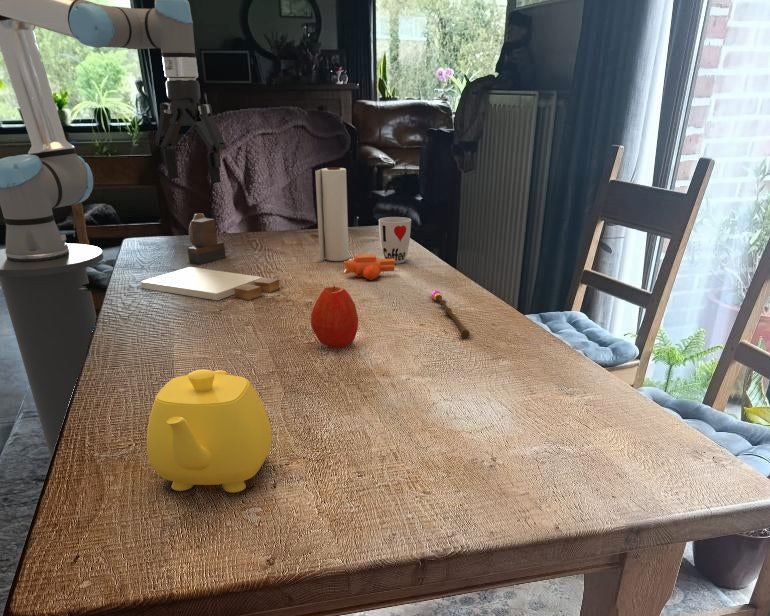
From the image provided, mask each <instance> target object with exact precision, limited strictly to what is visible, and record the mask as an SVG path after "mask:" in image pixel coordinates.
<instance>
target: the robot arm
mask: <svg viewBox="0 0 770 616" xmlns="http://www.w3.org/2000/svg"><path fill="white" fill-rule="evenodd" d="M190 5H191V4H190V2H189V0H154V7H151V8H133V7H124V6H113V5H105V4H100V3H96V2H92V1H90V0H0V51H1V54H2V58H3V60H4V64H5V66H6V69H7V73H8V76H9V79H10V82H11V86H12V88H13V92H14V94H15V97H16V101H17V104H18V107H19V110H20V113H21V116H22V119H23V122H24V126H25V129H26V131H27V134H28V138H29V140H30V144H31V146H30V149H29V150H28V152H27V154H18V155H14V156H13V155H12V156H6V157H2V158H0V208H1V212H2V216H3V220H4V224H5V248H4V249H5V253H6V256H7V259H8V260H10V261H14V262H40V261H48V260H54V259H59V258H62V257H65V256H67V255H69V254H70V252H69V248H68V245H67V242H66V241H67V236H66V233H63V234H62V233H61V231H60V229H59V227H58V225H57V224H56V221H55V217H54V212H53V210H54V209H58V208H62V207H67V206H75V205H78V204H80V203H82V202H85V201H86V200H87V199H88V198H89V197H90V195H91V193H92V191H93V189H94V176H93V172H92V170H91V167H90V166H89V164H88V162H85V159H84V158H83V157H81V156H79V155H78V154H77V151H76V147H75V146H74V145H73V144H71V143H70V142H69V141H68V140H67V138H66V134H65V132H64V128H63V125H62V121H61V118H60V115H59V112H58V109H57V105H56V102H55V98H54V95H53V92H52V88H51V85H50V82H49V78H48V75H47V72H46V69H45V65H44V62H43V59H42V55H41V52H40V49H39V46H38V42H37V39H36V35H35V32H34V31H35V28H36V27H37V28H41V29H45V30H47V31H50V32H54V33H57V34H60V35H63V36H67V37H69V38H70V37H71V38H73V39H75V40H77V41H78V43H80V44H81V45H84V46H86V47H90V48H91V47H92V48H96V49H101V48H117V49H127V50H140V49H141V50H146V49H149V50H150V49H160V53H161V57H162V65H163V71H164V77H165V78H167V80H166V81H165V88H166V89H165V90H166V96H167V98H168V99H169V101H170V102H160V103H159V113H160V114H159V118H158V124H157V129H156V134H155V139H154V144H155V146H156V147H160V148H161V149H162V152H163V153H162V154H163V160H164V164H166V170H167V177H168V180H174V179H179V171H178V163H177V155H176V150H175V148H174V146H173V145H174V143H175V141H176V138H177V136H178V134H179V132H180V131H181V127H183V126H186V127H187V126H188V127H192V128H193V129H194V130H195V131H196V132H197V134H198V136H199V137H200V139H201V141H203V143H204V144H205V146H206V148H207V149H208V152H207V161H208V168H209V169H208V170H209V178H210V184H217V183H221V182H222V181H221V180H222V179H221V171H220V168H221V167H222V164H221V163H222V162H221V152H222V151H224V150H226V149H227V144H226V142H225V140H224V137H223V135H222V133H221V131H220V128H219V126H218V124H217V122H216V119H215V116H214V113H213V109H212V105H211V104H210V103H207V104H201V103H200V99H201V88H200V82H199V81H198V80H197V79H198V78H199V71H198V63H197V55H196V49H195V48H196V45H195V37H194V36H195V35H194V21H193V16H192V12H191V6H190Z"/></svg>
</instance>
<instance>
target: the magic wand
mask: <svg viewBox="0 0 770 616" xmlns="http://www.w3.org/2000/svg"><path fill="white" fill-rule="evenodd" d="M431 298H432V300H434V301H436V302H439V305H440V306H441V307H444V313H445V314H446V315H447V316H449V317H450V318H451V319H452V320H453V321H454V323H455V324H456V326H457V327H458V328H459V330H460V338H462V339H463V340H464V339H465V340H466V339H468V338H469V337H470V331H469V330H468V329H467V328H466V327H465V326H464V325H463V323H462V322H461V321H460V320H459V319H458V317H457V316H456V315H455V314H454V313H453V309H451V307H448V305H447V304H446V303H447V302H446V300H444V299H443V296H442V293H441V292H440V291H439V290H432V293H431Z"/></svg>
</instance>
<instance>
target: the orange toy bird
mask: <svg viewBox="0 0 770 616" xmlns="http://www.w3.org/2000/svg"><path fill="white" fill-rule="evenodd" d="M343 264H344V265H345V269H344V271H343V273H344V275H347V274H350V273H354V275H356V277H357V278H366V280H368V281H373V280H374V279H377V278H378V277H380V274H381V273H383V272H395V265H396V264H395V260H394V258H393V259H384V258H379V257H377V256H376V254H356V255H355V256H353V258H348V259H347V260H343Z"/></svg>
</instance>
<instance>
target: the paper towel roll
mask: <svg viewBox="0 0 770 616" xmlns="http://www.w3.org/2000/svg"><path fill="white" fill-rule="evenodd" d="M314 172H315V192H316V212H317V213H316V215H317V229H318V230H317V231H318V234H317V235H318V253H319V261H320V262H322V261H323V260H327V261H332V262H342V261H348V260H349V259H350V254H349V251H350V250H349V221H348V220H349V219H348V217H349V216H348V188H347V185H348V184H347V169H346V168H344V167H337V166H333V167H325V168H320V169H317V170H315V171H314Z"/></svg>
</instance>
